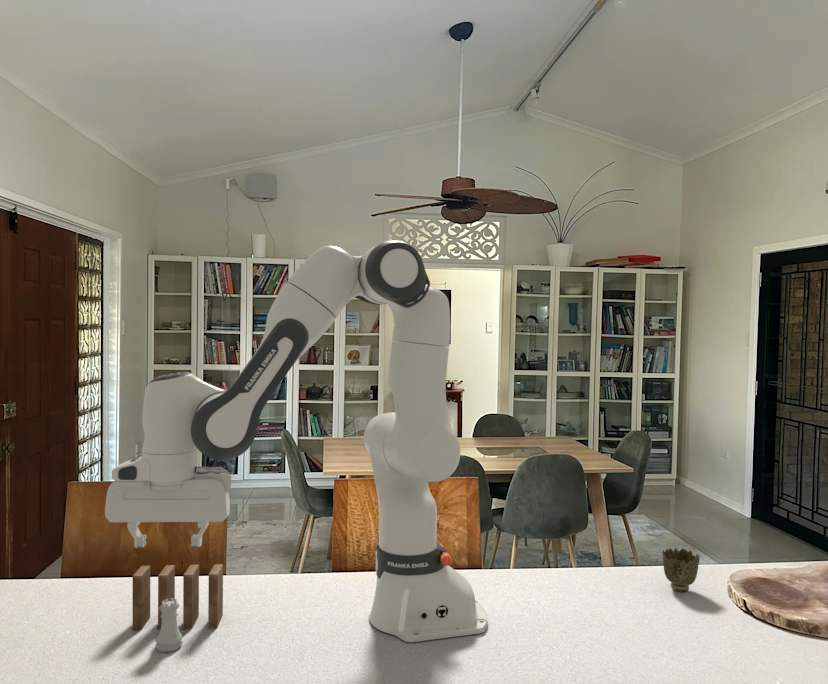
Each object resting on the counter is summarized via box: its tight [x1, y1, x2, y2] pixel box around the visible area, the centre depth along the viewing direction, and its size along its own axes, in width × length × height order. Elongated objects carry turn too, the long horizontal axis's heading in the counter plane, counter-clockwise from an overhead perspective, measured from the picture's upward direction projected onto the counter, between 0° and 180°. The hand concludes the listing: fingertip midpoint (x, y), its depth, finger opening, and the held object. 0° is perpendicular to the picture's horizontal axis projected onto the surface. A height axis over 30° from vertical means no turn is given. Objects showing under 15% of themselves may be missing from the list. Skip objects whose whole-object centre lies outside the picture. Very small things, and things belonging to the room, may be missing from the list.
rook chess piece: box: [155, 598, 183, 653], centre depth 111 cm, size 4×4×8 cm
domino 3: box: [182, 564, 200, 630], centre depth 121 cm, size 2×5×10 cm, turn 5°
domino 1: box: [132, 565, 151, 631], centre depth 120 cm, size 2×5×10 cm, turn 5°
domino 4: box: [207, 563, 224, 629], centre depth 121 cm, size 2×5×10 cm, turn 5°
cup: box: [661, 547, 701, 593], centre depth 139 cm, size 8×7×8 cm
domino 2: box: [157, 564, 176, 631], centre depth 120 cm, size 2×5×10 cm, turn 5°
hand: (168, 546), depth 111 cm, fingers open, 8 cm apart
